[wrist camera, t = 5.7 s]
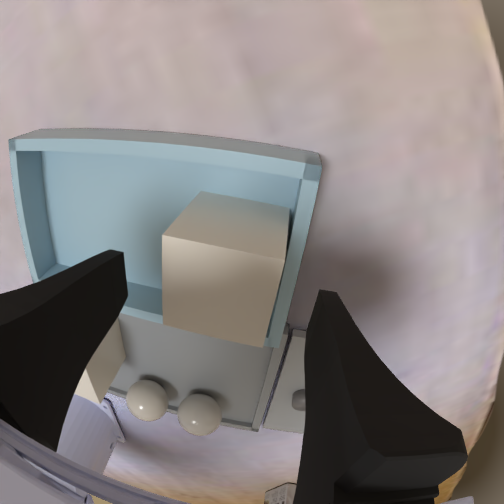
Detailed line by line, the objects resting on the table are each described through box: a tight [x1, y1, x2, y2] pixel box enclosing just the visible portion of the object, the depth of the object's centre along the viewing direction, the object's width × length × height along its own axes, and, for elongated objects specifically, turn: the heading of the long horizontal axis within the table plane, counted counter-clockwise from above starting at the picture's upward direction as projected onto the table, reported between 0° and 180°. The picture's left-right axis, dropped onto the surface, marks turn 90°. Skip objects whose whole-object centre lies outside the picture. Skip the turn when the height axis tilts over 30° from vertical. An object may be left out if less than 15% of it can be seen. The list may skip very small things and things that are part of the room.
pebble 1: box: [126, 380, 169, 421], centre depth 20 cm, size 3×3×3 cm
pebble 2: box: [177, 394, 222, 436], centre depth 20 cm, size 3×3×3 cm
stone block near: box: [162, 191, 290, 348], centre depth 13 cm, size 4×4×4 cm
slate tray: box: [107, 313, 306, 433], centre depth 20 cm, size 12×20×1 cm, turn 83°
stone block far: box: [74, 318, 126, 404], centre depth 18 cm, size 4×4×4 cm
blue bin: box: [9, 129, 322, 348], centre depth 14 cm, size 9×15×2 cm, turn 83°
